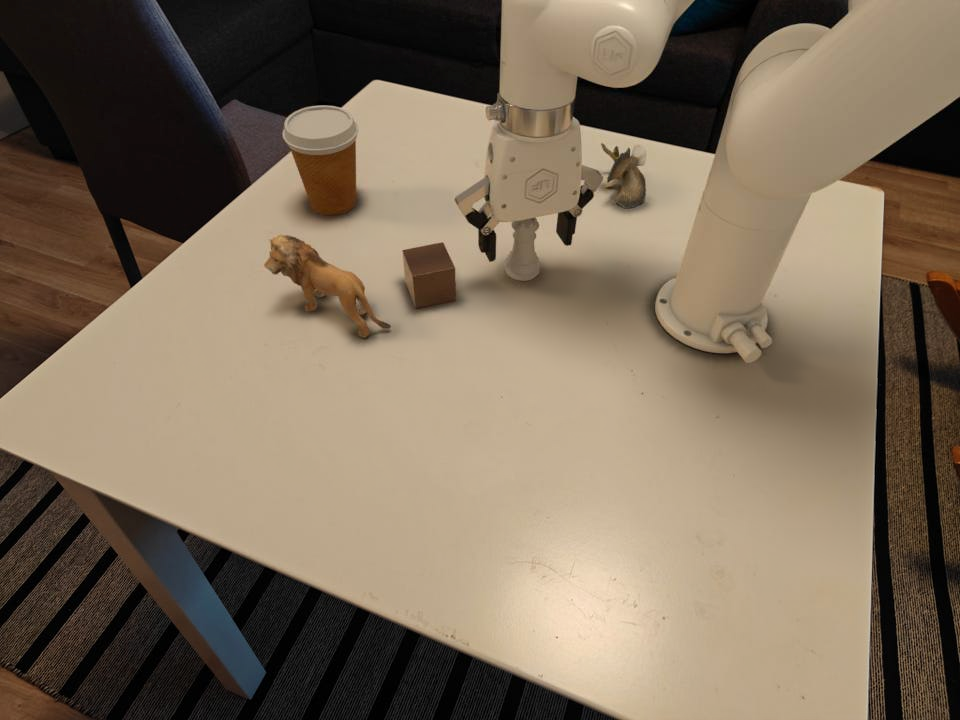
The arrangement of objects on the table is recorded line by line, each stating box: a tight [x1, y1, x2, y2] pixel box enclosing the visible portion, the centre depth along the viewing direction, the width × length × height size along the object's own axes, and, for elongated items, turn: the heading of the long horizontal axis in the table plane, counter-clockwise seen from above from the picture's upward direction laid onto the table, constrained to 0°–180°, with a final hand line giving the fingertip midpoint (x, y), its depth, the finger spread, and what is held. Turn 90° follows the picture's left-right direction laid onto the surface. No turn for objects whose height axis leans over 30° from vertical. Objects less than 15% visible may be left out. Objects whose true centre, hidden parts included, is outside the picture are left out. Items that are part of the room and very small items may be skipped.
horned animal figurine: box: [600, 142, 647, 209], centre depth 91 cm, size 8×7×9 cm
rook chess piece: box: [504, 217, 541, 282], centre depth 78 cm, size 4×4×8 cm
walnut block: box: [401, 242, 457, 310], centre depth 76 cm, size 5×5×5 cm
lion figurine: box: [263, 234, 392, 339], centre depth 72 cm, size 15×5×9 cm, turn 66°
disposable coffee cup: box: [282, 104, 359, 216], centre depth 86 cm, size 10×10×12 cm
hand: (526, 246), depth 78 cm, fingers open, 9 cm apart
